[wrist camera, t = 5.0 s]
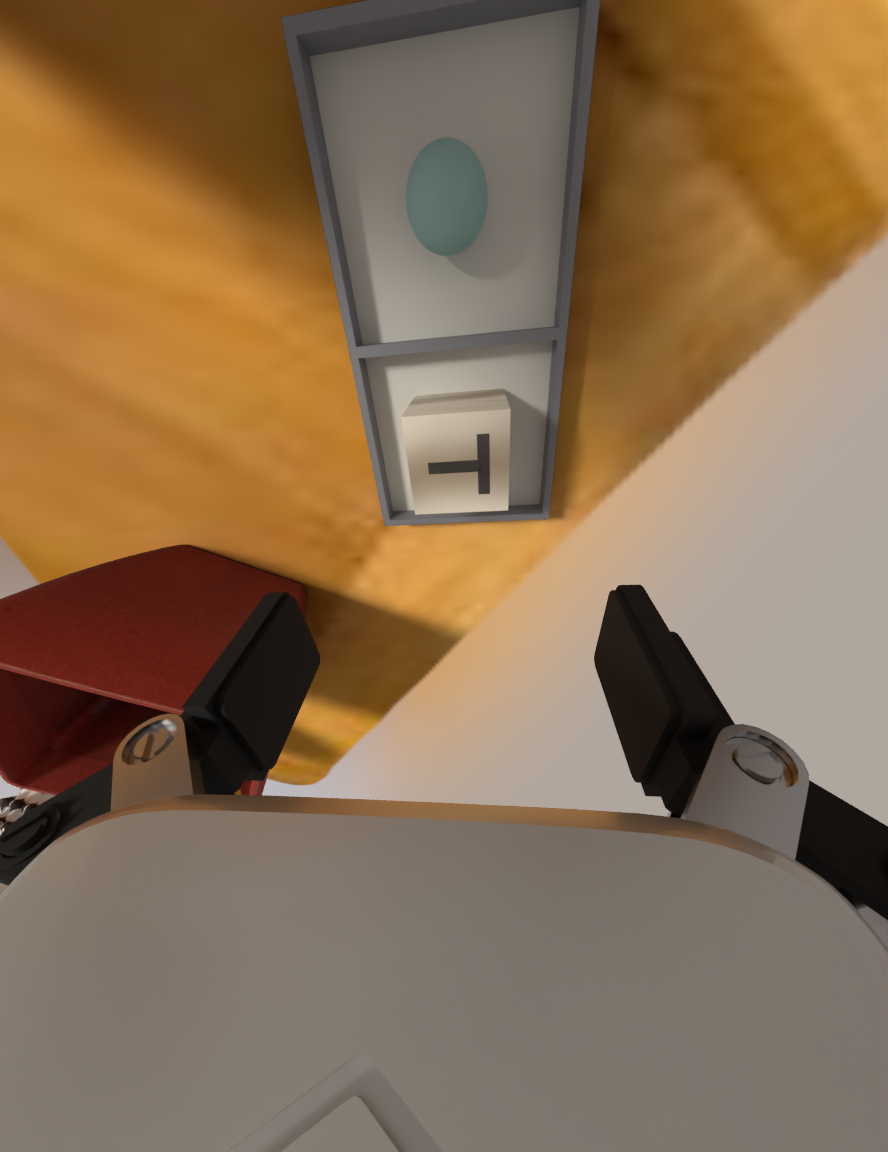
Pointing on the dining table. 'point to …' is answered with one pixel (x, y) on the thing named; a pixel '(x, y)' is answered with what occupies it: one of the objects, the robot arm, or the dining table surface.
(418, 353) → the compartment box
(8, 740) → the plant pot
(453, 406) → the letter cube
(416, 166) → the teal ball
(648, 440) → the dining table surface
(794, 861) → the robot arm
